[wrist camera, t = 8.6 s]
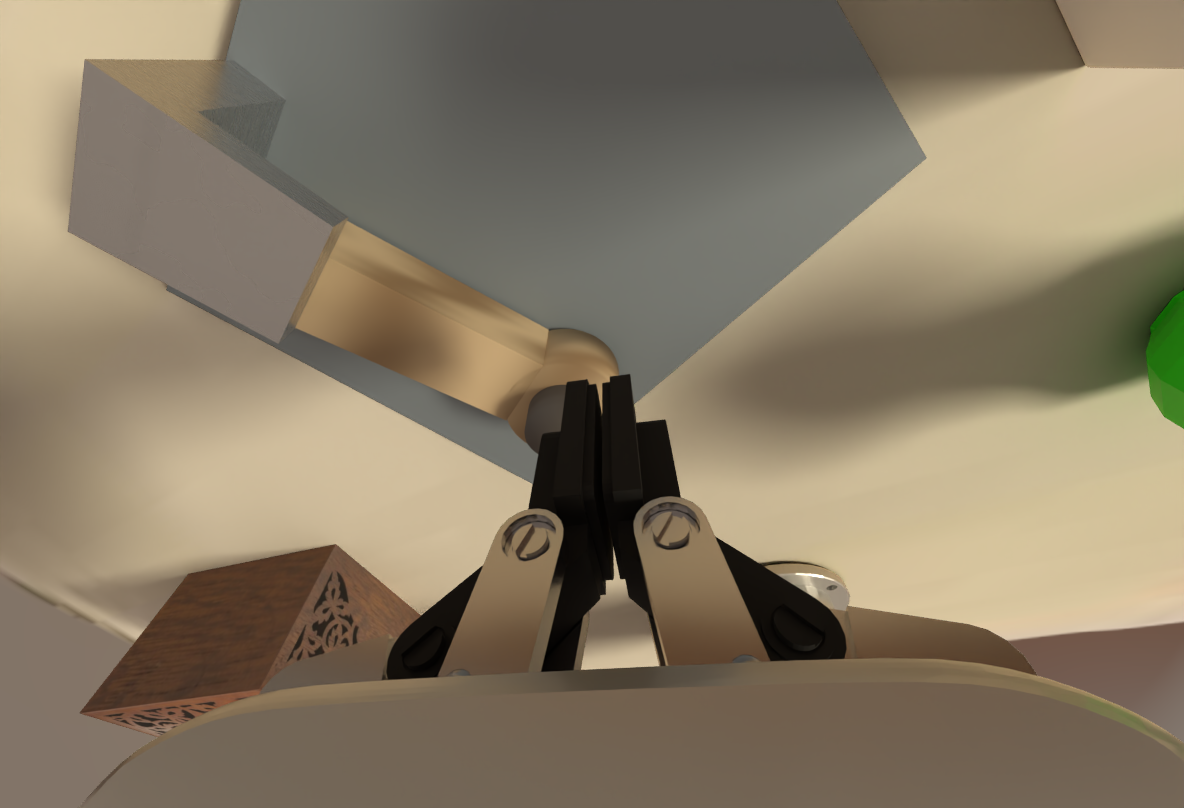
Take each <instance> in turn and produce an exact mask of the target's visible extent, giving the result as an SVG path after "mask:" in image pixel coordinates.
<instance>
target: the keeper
mask: <svg viewBox="0 0 1184 808" xmlns="http://www.w3.org/2000/svg"><path fill="white" fill-rule="evenodd" d="M285 102H286V100H285V99H284V98H283V97H281V96H280V95H279V94H277V93H276V92H275V91H273V90H272V89H271V88H270V87H268V86H267V85H266V84H264V83H263V82H262V81H260V80H259V79H258V78H256V77H255V76H254V75H252V74H251V73H250V72H249V71H247V70H246V69H245V68H243V67H242V66H241V65H239V64H238V63H237V62H235V61H234V60H117V59H85V62H84V72H83V82H82V93H81V103H80V113H79V123H78V134H77V144H76V154H75V164H74V175H73V185H72V195H71V206H70V216H69V226H68V232H70V233H72V234H74V235H75V236H77V237H79V238H81V239H83V240H85V241H87V242H89V243H90V244H92V245H94V246H96V247H98V248H100V249H102V250H104V251H105V252H107V253H109V254H111V255H113V256H115V257H117V258H119V259H120V260H122V261H124V262H126V263H128V264H130V265H132V266H134V267H135V268H137V269H139V270H141V271H143V272H145V273H147V274H148V275H150V276H152V277H154V278H156V279H158V280H160V281H162V282H163V283H165V284H167V285H169V286H171V287H173V288H175V289H177V290H178V291H180V292H182V293H184V294H186V295H188V296H190V297H192V298H193V299H195V300H197V301H199V302H201V303H203V304H205V305H207V306H208V307H210V308H212V309H214V310H216V311H218V312H220V313H222V314H223V315H225V316H227V317H229V318H231V319H233V320H235V321H236V322H238V323H240V324H242V325H244V326H246V327H248V328H250V329H251V330H253V331H255V332H257V333H259V334H261V335H263V336H265V337H266V338H268V339H270V340H272V341H274V342H276V343H278V344H279V343H280V342H281V341H282V340H283V339H284V338H285V337H287V336H288V335H289V334H290V333H291V332H292V331H293V330H294V329H295V327H296V325H297V323H298V321H299V319H300V317H301V315H302V313H303V311H304V308H305V306H306V304H307V302H308V300H309V298H310V296H311V294H312V292H313V290H314V288H315V286H316V284H317V282H318V280H319V278H320V275H321V273H322V271H323V269H324V267H325V265H326V263H327V261H328V259H329V257H330V255H331V253H332V251H333V249H334V247H335V245H336V242H337V240H338V238H339V236H340V234H341V232H342V230H343V228H344V226H345V224H346V222H347V220H348V218H349V217H348V216H347V215H345V214H344V213H342V212H341V211H339V210H338V209H337V208H335V207H334V206H332V205H331V204H329V203H328V202H326V201H325V200H324V199H322V198H321V197H319V196H318V195H316V194H315V193H314V192H312V191H311V190H309V189H308V188H306V187H305V186H303V185H302V184H301V183H299V182H298V181H296V180H295V179H293V178H292V177H291V176H289V175H288V174H286V173H285V172H283V171H282V170H280V169H279V168H278V167H276V166H275V165H273V164H272V163H270V162H269V161H268V160H266V157H267V154H268V151H269V149H270V146H271V143H272V140H273V137H274V134H275V131H276V128H277V125H278V122H279V119H280V116H281V113H282V111H283V108H284V105H285Z"/></svg>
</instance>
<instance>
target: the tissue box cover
mask: <svg viewBox="0 0 1184 808" xmlns="http://www.w3.org/2000/svg"><path fill="white" fill-rule="evenodd" d="M420 616H421V615H420V614H418V613H417V612H416V611H415V610H414V609H412V608H411V607H410V606H409V605H408V604H406V603H405V602H404V601H403V600H402V599H400V598H399V597H398V596H397V595H396V594H395V593H393V592H392V591H391V590H390V589H389V588H387V587H386V586H385V585H384V584H383V583H381V582H380V581H379V580H378V579H377V578H375V577H374V576H373V575H372V574H371V573H370V572H368V571H367V570H366V569H365V568H364V567H362V566H361V565H360V564H359V563H358V562H356V561H355V560H354V559H353V558H352V557H350V556H349V555H348V554H347V553H346V552H344V551H343V550H342V549H341V548H340V547H339V546H337V545H336V544H335V545H330V546H325V547H320V548H315V549H310V550H305V551H300V552H295V553H290V554H285V555H280V556H275V557H270V558H265V559H260V560H255V561H250V562H245V563H241V564H236V565H231V566H226V567H221V568H216V569H211V570H206V571H201V572H196V573H191V574H188V575H187V577H186V578H185V579H184V580H183V582H182V583H181V584H180V585H179V587H178V588H177V589H176V591H175V592H174V593H173V594H172V596H171V597H170V598H169V599H168V601H167V602H166V603H165V605H164V606H163V607H162V608H161V610H160V611H159V612H158V614H157V615H156V616H155V617H154V619H153V620H152V621H151V622H150V624H149V625H148V626H147V628H146V629H145V630H144V631H143V633H142V634H141V635H140V637H139V638H138V639H137V640H136V642H135V643H134V644H133V645H132V647H131V648H130V649H129V651H128V652H127V653H126V654H125V656H124V657H123V658H122V660H121V661H120V662H119V664H118V665H117V666H116V667H115V668H114V670H113V671H112V672H111V674H110V675H109V676H108V677H107V679H106V680H105V681H104V683H103V684H102V685H101V686H100V688H99V689H98V690H97V692H96V693H95V694H94V695H93V697H92V698H91V699H90V700H89V702H88V703H87V704H86V706H85V707H84V708H83V709H82V711H81V712H80V713H81V714H84V715H87V716H91V717H94V718H97V719H100V720H104V721H107V722H110V723H114V724H117V725H120V726H123V727H126V728H130V729H134V730H136V731H140V732H143V733H146V734H150V735H153V736H156V737H159V736H161V735H162V734H164V733H166V732H167V731H169V730H171V729H173V728H175V727H176V726H178V725H180V724H182V723H184V722H187V721H189V720H191V719H193V718H195V717H198V716H200V715H202V714H204V713H206V712H209V711H211V710H213V709H216V708H218V707H221V706H224V705H226V704H229V703H231V702H235V701H238V700H241V699H244V698H247V697H251V696H255V695H259V693H260V691H261V690H262V689H263V688H264V686H265V685H266V684H267V683H268V682H269V681H270V679H271V678H272V677H273V676H275V675H276V674H277V673H279V672H280V671H281V670H282V669H284V668H285V667H287V666H289V665H291V664H293V663H295V662H297V661H300V660H304V659H307V658H310V657H314V656H317V655H320V654H324V653H327V652H330V651H334V650H337V649H340V648H344V647H347V646H350V645H354V644H357V643H360V642H364V641H367V640H370V639H374V638H377V637H380V636H384V635H387V634H390V635H391V636H392V637H393V638H394V637H398V636H400V634H401V633H402V632H403V631H404V630H405V629H406V628H407V627H408V626H409V625H410V624H412V623H413V622H414V621H415V620H416V619H418V618H419V617H420Z"/></svg>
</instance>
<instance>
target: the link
mask: <svg viewBox="0 0 1184 808" xmlns="http://www.w3.org/2000/svg"><path fill="white" fill-rule="evenodd" d="M295 328H297V329H299V330H302V331H304V332H306V333H308V334H311V335H313V336H315V337H317V338H320V339H322V340H324V341H327V342H329V343H331V344H333V345H336V346H338V347H340V348H342V349H345V350H347V351H349V352H352V353H354V354H356V355H358V356H361V357H363V358H365V359H367V360H370V361H372V362H374V363H377V364H379V365H381V366H383V367H386V368H388V369H390V370H392V371H395V372H397V373H399V374H402V375H404V376H406V377H408V378H411V379H413V380H415V381H417V382H420V383H422V384H424V385H426V386H429V387H431V388H433V389H436V390H438V391H440V392H442V393H445V394H447V395H449V396H451V397H454V398H456V399H458V400H461V401H463V402H465V403H467V404H470V405H472V406H474V407H476V408H479V409H481V410H483V411H486V412H488V413H490V414H492V415H495V416H497V417H499V418H501V419H504V420H508V423H509V425H510V426H511V428H512V430H513V431H514V432H515V434H516V435H517V436H518V437H519V438H520V439H522V440H523V441H524V442H525V443H527V444H528V445H529V446H530V448H531V449H532V450H533V451H534V452H536V453H537V454H538V453H539V447H540V442H541V437H542V434H543V433H549V432H558V431H561V423H562V415H563V407H564V399H565V391H566V384H567V382H569V381H577V380H585V379H588V382H589V384H596V385H597V389H598V395H599V400H600V406H601V411H602V383H605V382H610V376H618V375H619V368H618V363H617V360H616V358H615V356H614V354H613V352H612V351H611V349H610V348H609V347H608V346H607V345H606V344H605V343H604V342H603V341H601V340H600V339H598V338H597V337H595V336H593V335H591V334H589V333H586V332H583V331H580V330H575V329H556V330H551V331H549V330H548V329H546V328H545V327H543V326H541V325H539V324H537V323H535V322H534V321H532V320H530V319H528V318H526V317H524V316H522V315H521V314H519V313H517V312H515V311H513V310H511V309H509V308H508V307H506V306H504V305H502V304H500V303H498V302H496V301H495V300H493V299H491V298H489V297H487V296H485V295H484V294H482V293H480V292H478V291H476V290H474V289H472V288H471V287H469V286H467V285H465V284H463V283H461V282H459V281H458V280H456V279H454V278H452V277H450V276H448V275H447V274H445V273H443V272H441V271H439V270H437V269H435V268H434V267H432V266H430V265H428V264H426V263H424V262H422V261H421V260H419V259H417V258H415V257H413V256H411V255H409V254H408V253H406V252H404V251H402V250H400V249H398V248H397V247H395V246H393V245H391V244H389V243H387V242H385V241H384V240H382V239H380V238H378V237H376V236H374V235H372V234H371V233H369V232H367V231H365V230H363V229H361V228H359V227H358V226H356V225H354V224H352V223H350V222H348V221H347V222H346V224H345V226H344V228H343V230H342V232H341V234H340V236H339V238H338V240H337V242H336V245H335V247H334V249H333V251H332V253H331V255H330V257H329V259H328V261H327V263H326V265H325V267H324V269H323V271H322V273H321V275H320V278H319V280H318V282H317V284H316V286H315V288H314V290H313V292H312V294H311V296H310V298H309V300H308V302H307V304H306V306H305V308H304V311H303V313H302V315H301V317H300V319H299V321H298V323H297V325H296V327H295Z"/></svg>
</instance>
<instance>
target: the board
mask: <svg viewBox="0 0 1184 808" xmlns="http://www.w3.org/2000/svg"><path fill="white" fill-rule="evenodd" d="M226 60H234V61H235V62H237V63H238V64H239V65H241V66H242V67H243V68H245V69H246V70H247V71H249V72H250V73H251V74H252V75H254V76H255V77H256V78H258V79H259V80H260V81H262V82H263V83H264V84H266V85H267V86H268V87H270V88H271V89H272V90H273V91H275V92H276V93H277V94H279V95H280V96H281V97H283V98H284V99H285V100H286V102H285V105H284V108H283V111H282V113H281V116H280V119H279V122H278V125H277V128H276V131H275V134H274V137H273V140H272V143H271V146H270V149H269V151H268V154H267V157H266V160H268V161H269V162H270V163H272V164H273V165H275V166H276V167H278V168H279V169H280V170H282V171H283V172H285V173H286V174H288V175H289V176H291V177H292V178H293V179H295V180H296V181H298V182H299V183H301V184H302V185H303V186H305V187H306V188H308V189H309V190H311V191H312V192H314V193H315V194H316V195H318V196H319V197H321V198H322V199H324V200H325V201H326V202H328V203H329V204H331V205H332V206H334V207H335V208H337V209H338V210H339V211H341V212H342V213H344V214H345V215H347V216H348V217H349V218H348V220H347V221H348V222H350V223H352V224H354V225H356V226H358V227H359V228H361V229H363V230H365V231H367V232H369V233H371V234H372V235H374V236H376V237H378V238H380V239H382V240H384V241H385V242H387V243H389V244H391V245H393V246H395V247H397V248H398V249H400V250H402V251H404V252H406V253H408V254H409V255H411V256H413V257H415V258H417V259H419V260H421V261H422V262H424V263H426V264H428V265H430V266H432V267H434V268H435V269H437V270H439V271H441V272H443V273H445V274H447V275H448V276H450V277H452V278H454V279H456V280H458V281H459V282H461V283H463V284H465V285H467V286H469V287H471V288H472V289H474V290H476V291H478V292H480V293H482V294H484V295H485V296H487V297H489V298H491V299H493V300H495V301H496V302H498V303H500V304H502V305H504V306H506V307H508V308H509V309H511V310H513V311H515V312H517V313H519V314H521V315H522V316H524V317H526V318H528V319H530V320H532V321H534V322H535V323H537V324H539V325H541V326H543V327H545V328H546V329H548V330H549V331H551V330H556V329H575V330H580V331H583V332H586V333H589V334H591V335H593V336H595V337H597V338H598V339H600V340H601V341H603V342H604V343H605V344H606V345H607V346H608V347H609V348H610V349H611V351H612V352H613V354H614V356H615V358H616V360H617V363H618V368H619V375H626V374H630V376H631V384H632V392H633V400H634V404H635V403H636V402H637V401H639V400H640V399H641V398H642V397H643V396H645V395H646V394H647V393H648V392H649V391H651V390H652V389H653V388H654V387H655V386H656V385H658V384H659V383H660V382H661V381H662V380H664V379H665V378H666V377H667V376H668V375H670V374H671V373H672V372H673V371H674V370H675V369H677V368H678V367H679V366H680V365H681V364H683V363H684V362H685V361H686V360H687V359H689V358H690V357H691V356H692V355H693V354H694V353H696V352H697V351H698V350H699V349H700V348H702V347H703V346H704V345H705V344H706V343H708V342H709V341H710V340H711V339H712V338H713V337H715V336H716V335H717V334H718V333H719V332H721V331H722V330H723V329H724V328H725V327H727V326H728V325H729V324H730V323H731V322H732V321H734V320H735V319H736V318H737V317H738V316H740V315H741V314H742V313H743V312H744V311H746V310H747V309H748V308H749V307H750V306H751V305H753V304H754V303H755V302H756V301H757V300H759V299H760V298H761V297H762V296H763V295H765V294H766V293H767V292H768V291H769V290H770V289H772V288H773V287H774V286H775V285H776V284H778V283H779V282H780V281H781V280H782V279H784V278H785V277H786V276H787V275H788V274H790V273H791V272H792V271H793V270H794V269H795V268H797V267H798V266H799V265H800V264H801V263H803V262H804V261H805V260H806V259H807V258H809V257H810V256H811V255H812V254H813V253H814V252H816V251H817V250H818V249H819V248H820V247H822V246H823V245H824V244H825V243H826V242H828V241H829V240H830V239H831V238H832V237H833V236H835V235H836V234H837V233H838V232H839V231H841V230H842V229H843V228H844V227H845V226H847V225H848V224H849V223H850V222H851V221H852V220H854V219H855V218H856V217H857V216H858V215H860V214H861V213H862V212H863V211H864V210H866V209H867V208H868V207H869V206H870V205H871V204H873V203H874V202H875V201H876V200H877V199H879V198H880V197H881V196H882V195H883V194H885V193H886V192H887V191H888V190H889V189H890V188H892V187H893V186H894V185H895V184H896V183H898V182H899V181H900V180H901V179H902V178H904V177H905V176H906V175H907V174H908V173H909V172H911V171H912V170H913V169H914V168H915V167H917V166H918V165H919V164H920V163H921V162H923V161H924V160H925V159H926V156H925V154H924V152H923V151H922V149H921V147H920V145H919V144H918V142H917V140H916V138H915V137H914V135H913V133H912V131H911V130H910V128H909V126H908V125H907V123H906V121H905V119H904V118H903V116H902V114H901V112H900V111H899V109H898V107H897V105H896V104H895V102H894V100H893V98H892V97H891V95H890V93H889V91H888V90H887V88H886V86H885V84H884V83H883V81H882V79H881V77H880V76H879V74H878V72H877V71H876V69H875V67H874V65H873V64H872V62H871V60H870V58H869V57H868V55H867V53H866V51H865V50H864V48H863V46H862V44H861V43H860V41H859V39H858V37H857V36H856V34H855V32H854V30H853V29H852V27H851V25H850V23H849V22H848V20H847V18H846V16H845V15H844V13H843V11H842V10H841V8H840V6H839V4H838V3H837V1H836V0H241V2H240V6H239V10H238V14H237V18H236V22H235V26H234V29H233V33H232V37H231V41H230V45H229V49H228V53H227V57H226ZM166 290H167V291H169V292H171V293H173V294H175V295H177V296H179V297H181V298H182V299H184V300H186V301H188V302H190V303H192V304H194V305H196V306H198V307H199V308H201V309H203V310H205V311H207V312H209V313H211V314H213V315H215V316H216V317H218V318H220V319H222V320H224V321H226V322H228V323H230V324H232V325H233V326H235V327H237V328H239V329H241V330H243V331H245V332H247V333H249V334H250V335H252V336H254V337H256V338H258V339H260V340H262V341H264V342H266V343H267V344H269V345H271V346H273V347H275V348H277V349H279V350H281V351H283V352H284V353H286V354H288V355H290V356H292V357H294V358H296V359H298V360H300V361H301V362H303V363H305V364H307V365H309V366H311V367H313V368H315V369H317V370H318V371H320V372H322V373H324V374H326V375H328V376H330V377H332V378H334V379H335V380H337V381H339V382H341V383H343V384H345V385H347V386H349V387H351V388H352V389H354V390H356V391H358V392H360V393H362V394H364V395H366V396H368V397H369V398H371V399H373V400H375V401H377V402H379V403H381V404H383V405H385V406H386V407H388V408H390V409H392V410H394V411H396V412H398V413H400V414H402V415H403V416H405V417H407V418H409V419H411V420H413V421H415V422H417V423H419V424H420V425H422V426H424V427H426V428H428V429H430V430H432V431H434V432H436V433H437V434H439V435H441V436H443V437H445V438H447V439H449V440H451V441H453V442H454V443H456V444H458V445H460V446H462V447H464V448H466V449H468V450H470V451H472V452H473V453H475V454H477V455H479V456H481V457H483V458H485V459H487V460H489V461H490V462H492V463H494V464H496V465H498V466H500V467H502V468H504V469H506V470H507V471H509V472H511V473H513V474H515V475H517V476H519V477H521V478H523V479H524V480H526V481H528V482H530V483H532V484H533V481H534V475H535V469H536V464H537V458H538V454H537V453H536V452H534V451H533V450H532V449H531V448H530V446H529V445H528V444H527V443H525V442H524V441H523V440H522V439H520V438H519V437H518V436H517V435H516V434H515V432H514V431H513V430H512V428H511V426H510V425H509V423H508V420H504V419H501V418H499V417H497V416H495V415H492V414H490V413H488V412H486V411H483V410H481V409H479V408H476V407H474V406H472V405H470V404H467V403H465V402H463V401H461V400H458V399H456V398H454V397H451V396H449V395H447V394H445V393H442V392H440V391H438V390H436V389H433V388H431V387H429V386H426V385H424V384H422V383H420V382H417V381H415V380H413V379H411V378H408V377H406V376H404V375H402V374H399V373H397V372H395V371H392V370H390V369H388V368H386V367H383V366H381V365H379V364H377V363H374V362H372V361H370V360H367V359H365V358H363V357H361V356H358V355H356V354H354V353H352V352H349V351H347V350H345V349H342V348H340V347H338V346H336V345H333V344H331V343H329V342H327V341H324V340H322V339H320V338H317V337H315V336H313V335H311V334H308V333H306V332H304V331H302V330H299V329H297V328H295V329H294V330H293V331H292V332H291V333H290V334H289V335H288V336H287V337H285V338H284V339H283V340H282V341H281V342H280V343H279V344H278V343H276V342H274V341H272V340H270V339H268V338H266V337H265V336H263V335H261V334H259V333H257V332H255V331H253V330H251V329H250V328H248V327H246V326H244V325H242V324H240V323H238V322H236V321H235V320H233V319H231V318H229V317H227V316H225V315H223V314H222V313H220V312H218V311H216V310H214V309H212V308H210V307H208V306H207V305H205V304H203V303H201V302H199V301H197V300H195V299H193V298H192V297H190V296H188V295H186V294H184V293H182V292H180V291H178V290H177V289H175V288H173V287H171V286H169V285H167V289H166Z"/></svg>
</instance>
